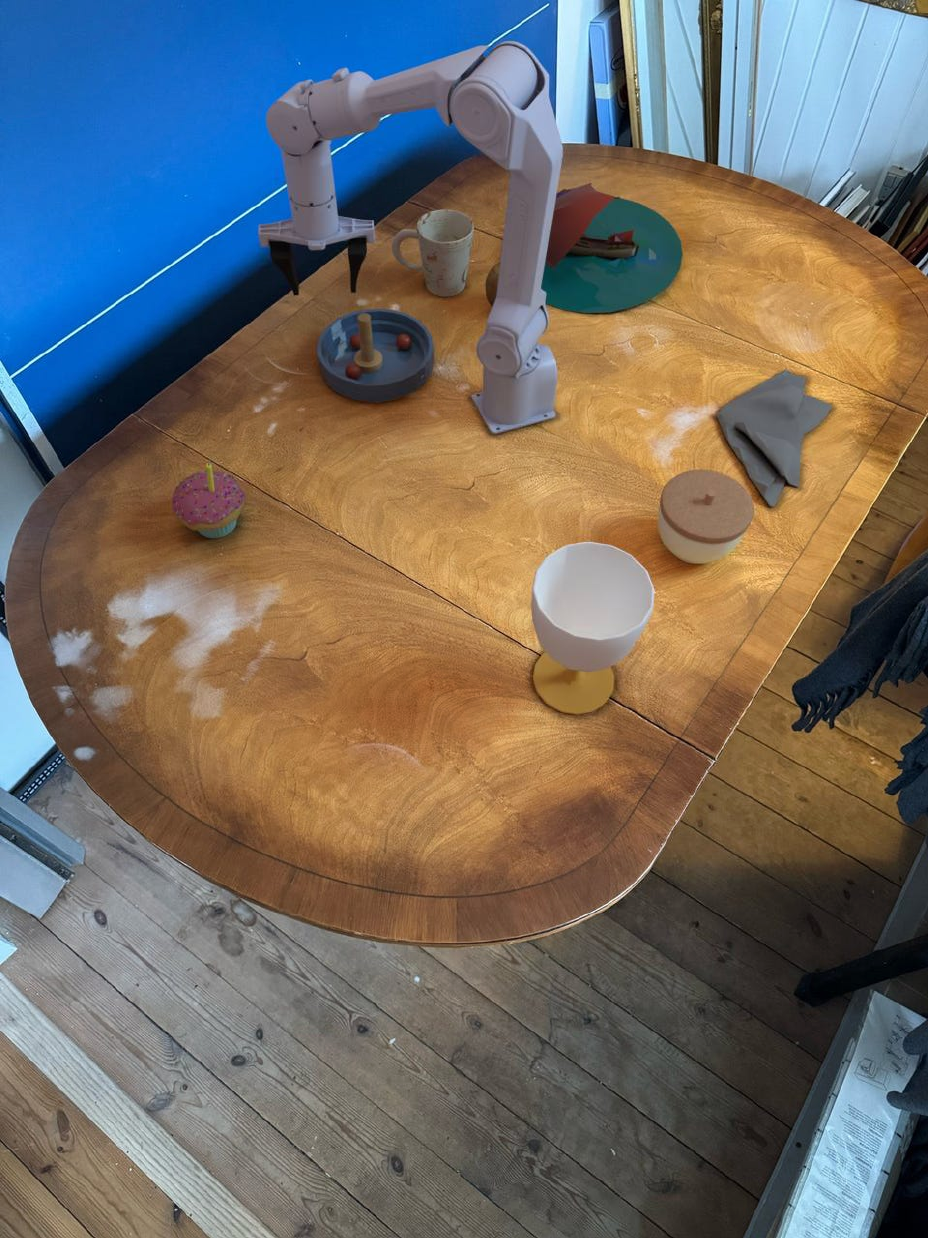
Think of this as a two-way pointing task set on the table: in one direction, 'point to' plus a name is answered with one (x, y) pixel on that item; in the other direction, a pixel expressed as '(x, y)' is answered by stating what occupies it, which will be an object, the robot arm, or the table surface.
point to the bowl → (399, 366)
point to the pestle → (367, 347)
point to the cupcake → (208, 502)
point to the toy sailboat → (607, 253)
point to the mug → (440, 250)
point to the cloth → (772, 430)
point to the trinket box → (703, 515)
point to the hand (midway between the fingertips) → (324, 289)
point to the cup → (586, 622)
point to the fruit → (492, 283)
